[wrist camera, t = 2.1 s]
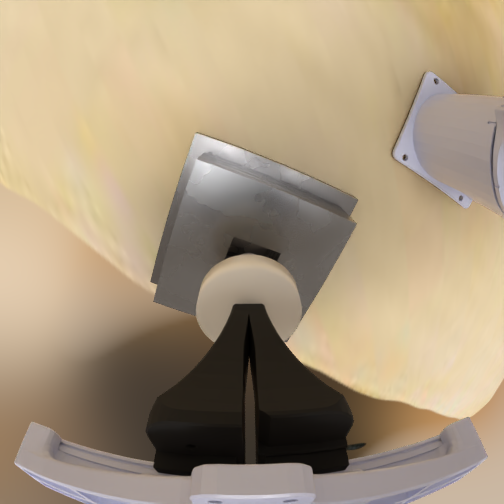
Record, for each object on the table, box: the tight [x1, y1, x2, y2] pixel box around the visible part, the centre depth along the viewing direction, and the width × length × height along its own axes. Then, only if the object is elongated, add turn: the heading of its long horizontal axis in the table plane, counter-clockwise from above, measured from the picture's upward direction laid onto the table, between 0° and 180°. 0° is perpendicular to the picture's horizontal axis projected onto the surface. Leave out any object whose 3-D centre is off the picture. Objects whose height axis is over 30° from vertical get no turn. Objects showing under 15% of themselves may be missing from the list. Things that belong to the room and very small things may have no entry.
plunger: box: [196, 253, 302, 342], centre depth 16 cm, size 5×5×5 cm
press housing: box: [151, 133, 358, 342], centre depth 20 cm, size 12×12×4 cm
